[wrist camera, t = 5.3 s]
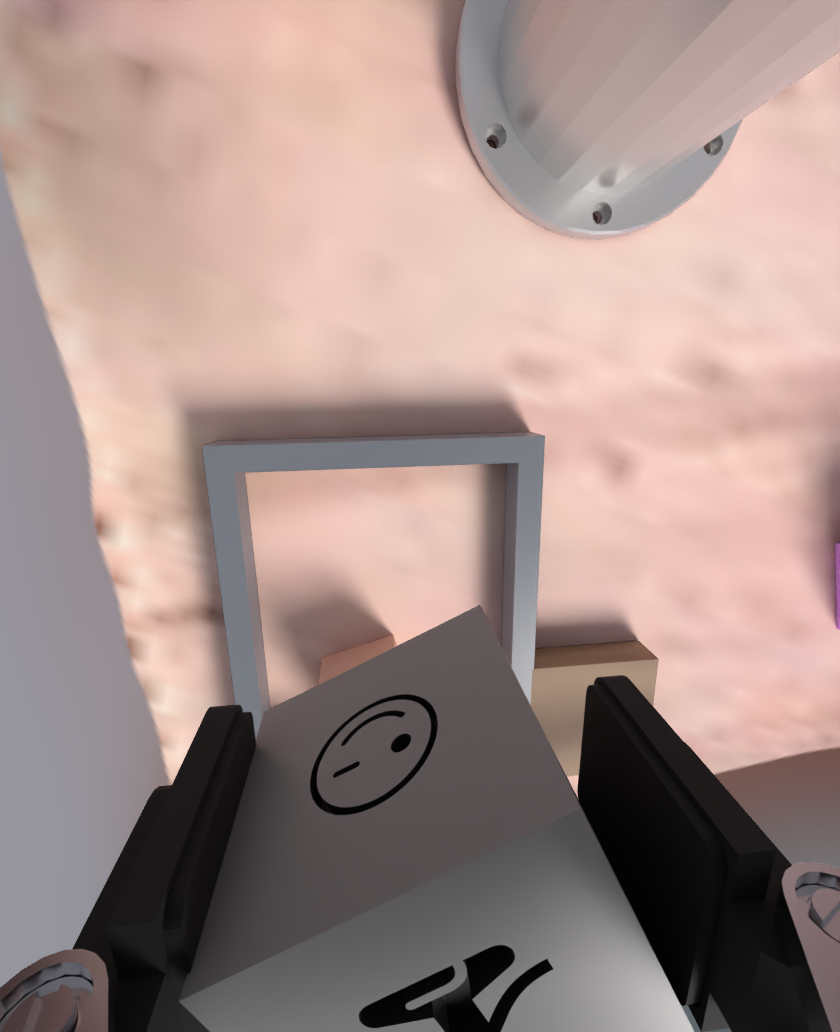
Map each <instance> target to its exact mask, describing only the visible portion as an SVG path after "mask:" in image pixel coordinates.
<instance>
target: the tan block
mask: <svg viewBox="0 0 840 1032" xmlns="http://www.w3.org/2000/svg"><path fill="white" fill-rule="evenodd" d="M657 667H658V658H657V657H656V656H655V655H654V654H652V653H651V652H650V651H649V650H648V649H647V648H646V647H645V646H644V645H643V644H642V643H641V642H639V641H628V642H615V643H602V644H589V645H576V646H563V647H549V648H536V649H535V658H534V669H532V682H531V704H530V705H531V707H532V709H533V711H534V713H535V715H536V717H537V719H538V721H539V723H540V725H541V727H542V729H543V730H544V732H545V734H546V736H547V738H548V740H549V742H550V744H551V746H552V748H553V750H554V752H555V754H556V756H557V758H558V760H559V762H560V764H561V766H562V768H563V770H564V772H565V774H566V776H574V775H579V768H580V756H581V745H582V734H583V723H584V711H585V700H586V690H587V687H588V686H589V685H594V681H595V679H596V678H597V677H605V676H618V675H624V676H627V677H628V678H629V679H630V680H631V681H632V683H633V684H634V685H635V686H636V687H637V688H638V690H639V691H640V692H641V693H642V694H643V695H644V697H645V698H646V699H647V700H648V701H649V702H650V704H651V705H652V706H653V701H654V693H655V684H656V676H657Z"/></svg>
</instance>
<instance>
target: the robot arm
mask: <svg viewBox="0 0 840 1032" xmlns="http://www.w3.org/2000/svg"><path fill="white" fill-rule="evenodd" d="M839 52H840V0H465V3H464V7H463V10H462V14H461V20H460V26H459V32H458V38H457V45H456V90H457V96H458V102H459V109H460V115H461V120H462V123H463V126H464V129H465V132H466V135H467V138H468V141H469V144H470V147H471V150H472V152H473V153H474V155H475V157H476V159H477V161H478V163H479V165H480V167H481V169H482V170H483V172H484V174H485V176H486V178H487V179H488V180H489V181H490V183H491V184H492V185H493V186H494V188H495V189H496V190H497V192H498V193H499V194H500V195H501V197H502V198H503V199H504V200H505V201H506V202H507V203H508V204H510V205H511V206H512V207H513V208H514V209H515V210H516V211H518V212H519V213H520V214H521V215H522V216H523V217H525V218H526V219H528V220H530V221H532V222H533V223H535V224H537V225H539V226H541V227H542V228H544V229H546V230H548V231H551V232H554V233H558V234H561V235H564V236H568V237H571V238H580V239H594V240H600V239H606V238H613V237H620V236H624V235H627V234H630V233H632V232H635V231H638V230H640V229H643V228H646V227H648V226H650V225H651V224H653V223H655V222H657V221H658V220H660V219H662V218H664V217H666V216H668V215H670V214H671V213H672V212H674V211H675V210H676V209H677V208H679V207H680V206H681V205H683V204H684V203H685V202H687V201H688V200H689V199H690V198H692V197H693V196H694V195H695V194H696V192H697V191H698V190H699V189H700V188H701V187H702V186H703V185H704V184H705V183H706V182H707V180H708V179H709V178H710V177H711V176H712V175H713V173H714V172H715V171H716V169H717V168H718V166H719V165H720V163H721V162H722V160H723V159H724V157H725V156H726V154H727V152H728V151H729V149H730V147H731V144H732V142H733V140H734V138H735V135H736V133H737V131H738V129H739V126H740V124H741V122H742V120H743V118H745V117H746V116H748V115H749V114H750V113H752V112H753V111H755V110H756V109H758V108H759V107H761V106H762V105H763V104H765V103H766V102H768V101H769V100H771V99H772V98H774V97H775V96H776V95H778V94H779V93H781V92H782V91H784V90H785V89H787V88H788V87H789V86H791V85H792V84H794V83H795V82H797V81H798V80H800V79H801V78H802V77H804V76H805V75H807V74H808V73H810V72H811V71H813V70H814V69H815V68H817V67H818V66H820V65H821V64H823V63H824V62H826V61H827V60H828V59H830V58H831V57H833V56H834V55H836V54H837V53H839ZM487 140H492V141H494V142H495V144H496V149H495V148H492V147H490V146H489V144H488V143H487V142H486V141H487ZM592 214H594V215H596V217H597V219H598V222H597V223H596V222H595V221H594V220H593V215H592ZM255 748H256V738H255V730H254V722H253V715H252V713H251V712H243V709H242V707H241V705H229V706H216V707H210V708H208V710H207V712H206V714H205V716H204V718H203V720H202V722H201V724H200V727H199V729H198V731H197V733H196V735H195V737H194V739H193V742H192V744H191V746H190V748H189V750H188V752H187V754H186V757H185V759H184V761H183V763H182V765H181V767H180V769H179V771H178V774H177V776H176V778H175V780H174V782H173V784H172V785H169V786H159V787H158V788H157V789H155V790H154V791H153V793H152V794H151V796H150V798H149V799H148V801H147V803H146V805H145V807H144V809H143V811H142V813H141V815H140V817H139V819H138V821H137V823H136V825H135V827H134V829H133V831H132V833H131V835H130V837H129V839H128V841H127V842H126V844H125V846H124V848H123V851H122V852H121V854H120V857H119V858H118V860H117V862H116V864H115V866H114V868H113V870H112V872H111V874H110V876H109V878H108V880H107V882H106V884H105V886H104V888H103V890H102V892H101V894H100V896H99V898H98V900H97V902H96V904H95V906H94V907H93V909H92V911H91V913H90V916H89V917H88V919H87V921H86V923H85V925H84V927H83V929H82V931H81V933H80V935H79V937H78V939H77V941H76V943H75V945H74V947H73V949H71V950H63V951H60V952H57V953H54V954H52V955H49V956H46V957H43V958H41V959H40V960H38V961H36V962H35V963H33V964H31V965H30V966H28V967H27V968H25V969H23V970H21V971H20V972H19V973H18V974H16V975H15V976H14V977H13V978H12V979H10V980H9V981H8V982H7V983H6V984H4V985H3V986H2V987H1V988H0V1032H210V1031H209V1030H208V1029H207V1028H206V1027H205V1026H204V1025H203V1024H202V1023H201V1022H200V1021H199V1020H198V1019H197V1018H196V1017H195V1016H193V1015H192V1014H191V1013H190V1012H189V1011H188V1010H187V1009H186V1008H185V1007H184V1006H183V1005H182V1004H181V1003H180V1002H179V999H180V996H181V992H182V989H183V986H184V982H185V979H186V975H187V974H188V973H190V972H191V968H192V965H193V961H194V958H195V954H196V951H197V948H198V944H199V941H200V937H201V934H202V930H203V927H204V924H205V920H206V917H207V913H208V910H209V906H210V903H211V899H212V896H213V893H214V889H215V886H216V882H217V879H218V875H219V872H220V868H221V865H222V862H223V858H224V855H225V851H226V848H227V844H228V841H229V837H230V834H231V831H232V827H233V824H234V820H235V817H236V813H237V810H238V807H239V803H240V800H241V796H242V793H243V789H244V786H245V782H246V779H247V776H248V772H249V769H250V765H251V762H252V758H253V755H254V751H255ZM578 799H579V802H580V804H581V806H582V808H583V810H584V812H585V814H586V816H587V818H588V820H589V822H590V824H591V826H592V828H593V830H594V832H595V834H596V836H597V838H598V840H599V842H600V844H601V846H602V848H603V850H604V852H605V854H606V856H607V858H608V860H609V862H610V864H611V866H612V868H613V870H614V872H615V874H616V876H617V878H618V880H619V882H620V884H621V886H622V888H623V890H624V892H625V894H626V896H627V898H628V900H629V902H630V904H631V906H632V908H633V910H634V912H635V914H636V916H637V918H638V920H639V922H640V924H641V926H642V928H643V930H644V932H645V934H646V936H647V938H648V940H649V942H650V944H651V946H652V948H653V950H654V952H655V954H656V956H657V958H658V960H659V962H660V964H661V966H662V968H663V970H664V972H665V974H666V976H667V978H668V980H669V982H670V984H671V986H672V988H673V990H674V992H675V994H676V996H677V999H678V1001H679V1003H680V1004H681V1005H682V1006H684V1005H688V1006H689V1008H690V1010H691V1012H692V1014H693V1016H694V1018H695V1020H696V1022H697V1024H698V1026H699V1028H700V1030H701V1032H704V1031H710V1030H716V1029H724V1028H730V1029H731V1031H732V1032H840V869H837V868H834V867H832V866H829V865H825V864H820V863H813V862H803V863H797V864H793V865H791V864H790V862H789V861H788V860H787V859H786V858H785V857H784V855H783V854H782V853H781V852H780V851H779V850H778V848H777V847H776V846H775V845H774V844H773V843H772V842H771V840H770V839H769V838H768V837H767V836H766V835H765V834H764V832H763V831H762V830H761V829H760V828H759V827H758V825H756V823H755V822H754V821H753V820H752V818H751V817H750V816H749V815H748V814H747V813H746V812H745V811H744V809H743V808H742V807H741V806H740V805H739V803H738V802H737V801H736V800H735V799H734V798H733V797H732V795H731V794H730V793H729V792H728V791H727V790H726V789H725V787H724V786H723V785H722V784H721V783H720V781H719V780H718V779H717V778H716V777H715V776H714V775H713V773H712V772H711V771H710V770H709V769H708V768H707V766H706V765H705V764H704V763H703V762H702V761H701V759H700V758H699V757H698V756H697V755H696V754H695V753H694V751H693V750H692V749H691V748H690V747H689V746H688V745H687V744H686V743H685V742H683V741H682V740H681V738H680V737H679V736H678V735H677V734H676V733H675V731H674V730H673V729H672V728H671V727H670V726H669V725H668V723H667V722H666V721H665V720H664V719H663V718H662V716H661V715H660V714H659V713H658V712H657V711H656V709H655V708H654V707H653V706H652V705H651V704H650V702H649V701H648V700H647V699H646V698H645V697H644V695H643V694H642V693H641V692H640V691H639V690H638V688H637V687H636V686H635V685H634V684H633V683H632V681H631V680H630V679H629V678H628V677H627V676H624V675H618V676H605V677H597V678H596V679H595V681H594V685H589V686H588V687H587V690H586V700H585V711H584V723H583V734H582V745H581V756H580V768H579V779H578Z"/></svg>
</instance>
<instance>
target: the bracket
mask: <svg viewBox="0 0 840 1032" xmlns="http://www.w3.org/2000/svg"><path fill="white" fill-rule="evenodd" d="M835 558H836V613H837V629H839V630H840V543H837V544H835Z"/></svg>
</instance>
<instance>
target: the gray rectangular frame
mask: <svg viewBox="0 0 840 1032" xmlns="http://www.w3.org/2000/svg"><path fill="white" fill-rule="evenodd" d="M544 444H545V436H543V435H540V434H536V433H533V432H510V433H476V434H441V435H406V436H372V437H337V438H302V439H267V440H233V441H214V442H211V443H209V444H206V445H204V446H202V451H203V458H204V466H205V474H206V482H207V489H208V497H209V505H210V513H211V520H212V528H213V536H214V544H215V551H216V559H217V567H218V575H219V583H220V590H221V598H222V606H223V614H224V621H225V629H226V637H227V645H228V652H229V660H230V668H231V676H232V683H233V691H234V699H235V705H241V707H242V709H243V712H251V713H252V715H253V722H254V730H255V738H257V734H258V731H259V727H260V724H261V721H262V717H263V714H264V712H265V711H267V710H269V709H270V699H269V690H268V681H267V672H266V662H265V653H264V644H263V635H262V626H261V616H260V607H259V598H258V589H257V579H256V570H255V561H254V552H253V542H252V533H251V524H250V515H249V505H248V496H247V487H246V478H245V472H271V471H300V470H328V469H356V468H384V467H413V466H441V465H469V464H497V463H506V497H505V533H504V570H503V606H502V642H501V647H502V649H503V651H504V653H505V655H506V657H507V659H508V661H509V663H510V665H511V667H512V669H513V671H514V673H515V675H516V677H517V679H518V681H519V683H520V685H521V687H522V689H523V691H524V693H525V695H526V697H527V699H528V701H529V703H530V704H531V682H532V669H534V658H535V636H536V615H537V593H538V572H539V551H540V529H541V508H542V487H543V465H544Z"/></svg>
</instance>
